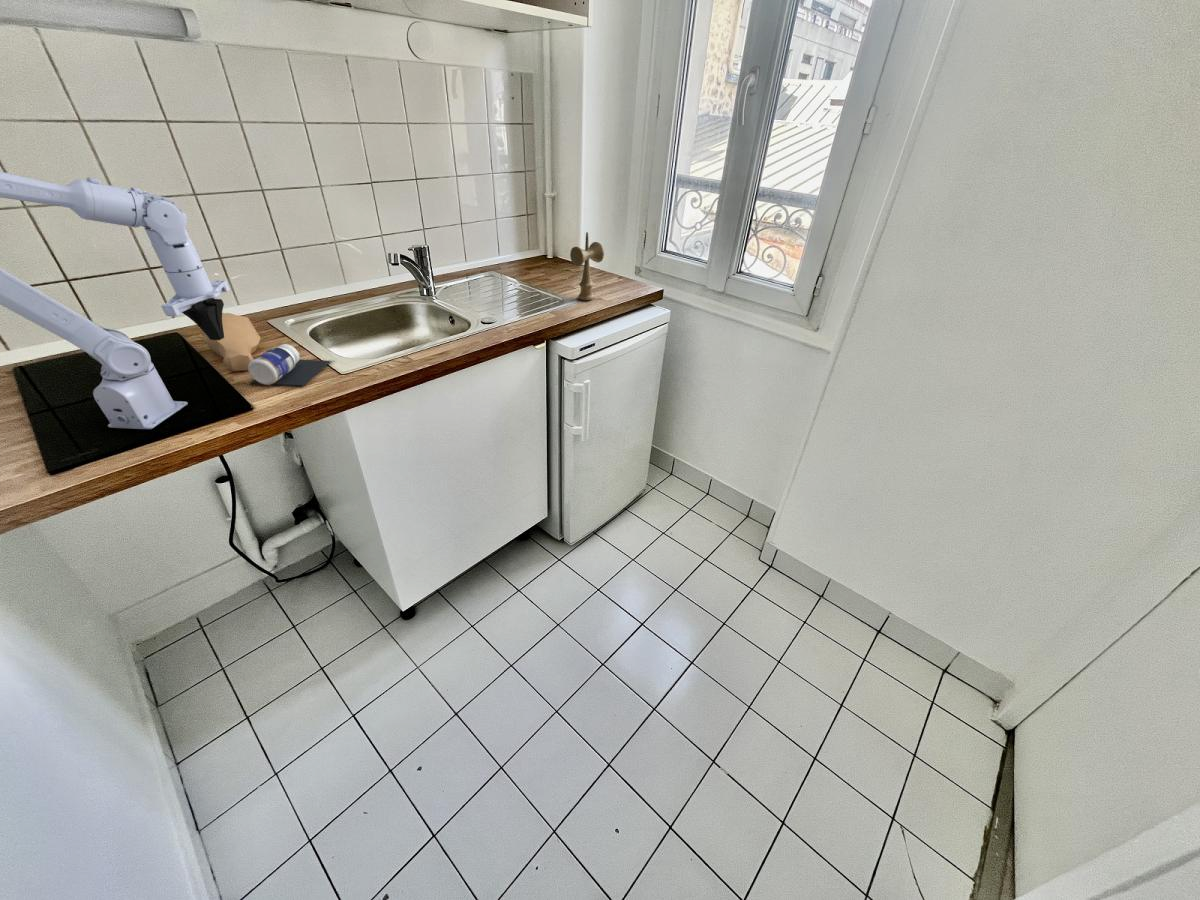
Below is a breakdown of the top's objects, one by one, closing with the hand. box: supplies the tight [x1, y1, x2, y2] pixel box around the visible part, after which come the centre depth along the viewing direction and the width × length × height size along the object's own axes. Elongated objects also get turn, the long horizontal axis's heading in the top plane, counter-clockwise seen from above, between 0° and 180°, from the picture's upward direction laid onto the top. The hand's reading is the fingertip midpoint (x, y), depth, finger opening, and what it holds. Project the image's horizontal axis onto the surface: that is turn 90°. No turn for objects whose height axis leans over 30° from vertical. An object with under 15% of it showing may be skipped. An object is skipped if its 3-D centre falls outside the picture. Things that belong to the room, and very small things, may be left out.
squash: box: [200, 312, 261, 372], centre depth 111 cm, size 11×20×9 cm, turn 39°
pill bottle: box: [247, 343, 301, 386], centre depth 104 cm, size 6×6×10 cm
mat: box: [250, 359, 331, 388], centre depth 107 cm, size 12×11×1 cm
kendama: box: [570, 231, 605, 301], centre depth 149 cm, size 6×10×20 cm, turn 135°
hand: (217, 338), depth 96 cm, fingers closed
